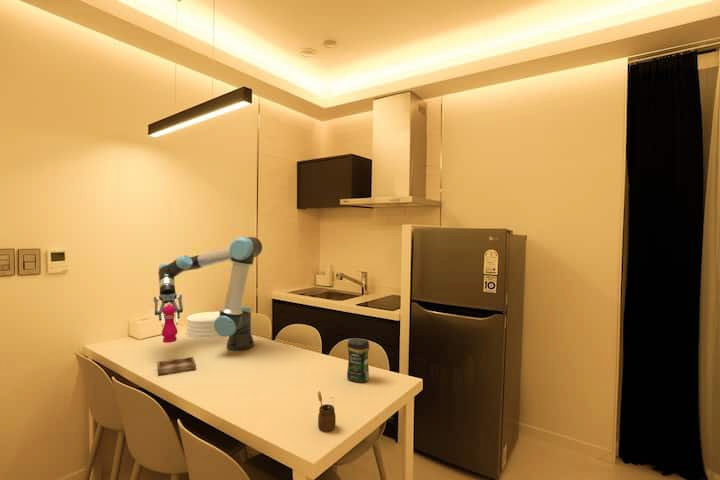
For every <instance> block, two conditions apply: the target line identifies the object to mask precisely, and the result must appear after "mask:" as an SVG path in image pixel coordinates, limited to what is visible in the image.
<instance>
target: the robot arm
mask: <svg viewBox="0 0 720 480" xmlns="http://www.w3.org/2000/svg"><path fill="white" fill-rule="evenodd" d="M262 251H263V245H262V242H261V240H260V239H258V238H257V237H253V236H241V237H237V238H235V239H233V241H232V242H231V243H230V245H229V246H228V247H225V248H220V249H217V250H213V251H210V252H206V253H202V254H198V255H194V256H189V255H186V254H182V255H181V256H179V257H177V258H176V259H174V260H173V261H172V262H171V263H170V262H164V263H161V264H160V265H159V266H158V280H159V282H158V283H159V284H158V286H159V287H158V288H159V296H154V297H153V303H154V315H155V316H158V321H161V327H162V328H163V327H164V325H165V320H164V314H163V308H164V307H165V306H166V304H167V303H168V302H170V303H171V305H172V306H174V307H175V309H176V311H175V313H174V314H175V315H174V316H175V317H174V320H175V326H178V325H179V320H178V319H180V317H181V315H180V314H181V313H183V312H184V306H183V302H182V299H183V295H182V294H179V295H178V294H177V293H176V285H175V281H176V280H175V277H176V276H179V275H180V274H181V273H183V272H186V271H187V272H188V271H193V270H199V269H201V268H205V267H208V266H213V265H216V264H220V263H224V262H228V261H231V262H232V267H231V271H230V277H229V282H228V286H227V291H226V296H225V300H224V306H223V307H221V308H220V310H219V312H220V314H219V317H218V318H216V320H215V322H214V329H215V331H216V332H217V333H218V334H219V335H220V336H223V337H224V338H225V337H228V338H227V342H226V349H227V350H230V351H245V350H249V349H251V348H253V347H254V346H255V341H254V337H253V335H252V311H251V308H250V307H249V306H242V303H243V299H244V293H245V289H246V284H247V279H248V276H249V275H248V274H249V269H250V267H251V266H252V265H254V261H255V258H256V257H258V256H259V255H260V254H261V253H262ZM176 299H177V300H178V305H177V303H176ZM159 300H160V301H161V305H160V307H159V311H158V303H159ZM178 306H179V307H178ZM223 337H222V338H223Z"/></svg>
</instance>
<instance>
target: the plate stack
mask: <svg viewBox="0 0 720 480" xmlns="http://www.w3.org/2000/svg"><path fill="white" fill-rule="evenodd" d="M219 314H220V311H207V312H205V311H204V312H199V313H198V312H197V313H193V314H191V315H188V316H187V317H186V337H187V338H188V339H192V340H213V339H219V338H223V336H220V335H219V334H218V333H217V332H216V331H215V329H214V322H215V320H216V318H218V317H219Z"/></svg>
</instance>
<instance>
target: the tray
mask: <svg viewBox="0 0 720 480" xmlns="http://www.w3.org/2000/svg"><path fill="white" fill-rule="evenodd" d="M196 367H197V364H196V361H195V358H194V356H189V357H188V356H187V357H182V358H175V359H167V360H162V361H161V360H160V361H157V376H158V377H160V376H161V377H162V376H166V375H174V374H179V373H185V372H192V371H196V369H197V368H196Z"/></svg>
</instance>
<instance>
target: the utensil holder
mask: <svg viewBox="0 0 720 480" xmlns="http://www.w3.org/2000/svg"><path fill="white" fill-rule="evenodd" d="M317 397H318V401H319V403H320V406H319V409H318V416H317V417H318V418H317V419H318V421H317V424H318V425H317V427H318V430H319V431H321V432H331V431H333V430H334V429H335V428H336V425H337V424H336V420H337V419H336V412H335V410H336V409H335V404H334V403H335V401H336V400H335V398H334V397H333V396H330V397H328V400H330V401H331V400H332V401H331V402H328V403H327V404H323V402H322V400H323V398H322V393H321V390H318V392H317Z"/></svg>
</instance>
